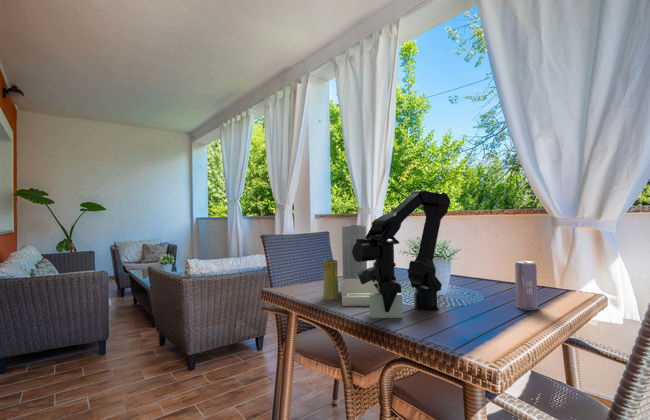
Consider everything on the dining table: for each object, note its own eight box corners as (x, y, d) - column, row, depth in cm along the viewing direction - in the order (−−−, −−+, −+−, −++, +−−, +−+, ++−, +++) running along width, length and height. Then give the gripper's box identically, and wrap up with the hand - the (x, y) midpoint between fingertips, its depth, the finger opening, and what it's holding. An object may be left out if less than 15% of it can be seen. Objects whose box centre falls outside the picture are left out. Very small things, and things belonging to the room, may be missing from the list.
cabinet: (382, 296, 125) (382, 278, 125) (388, 305, 112) (388, 285, 112) (341, 296, 126) (341, 278, 126) (342, 305, 113) (342, 286, 113)
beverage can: (536, 306, 107) (534, 261, 108) (539, 311, 102) (537, 263, 102) (515, 304, 110) (513, 260, 110) (517, 309, 104) (515, 262, 105)
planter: (338, 292, 133) (337, 226, 133) (351, 287, 141) (349, 225, 142) (360, 295, 127) (358, 226, 128) (371, 290, 135) (370, 225, 136)
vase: (337, 300, 120) (337, 261, 120) (321, 300, 121) (320, 261, 121) (340, 296, 126) (339, 259, 126) (324, 296, 127) (324, 259, 127)
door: (400, 315, 101) (400, 292, 101) (402, 317, 99) (401, 294, 99) (369, 315, 101) (369, 293, 101) (370, 318, 99) (370, 295, 99)
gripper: (356, 255, 110) (357, 302, 109) (361, 264, 91) (362, 320, 91) (389, 255, 110) (390, 301, 109) (401, 263, 91) (402, 319, 91)
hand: (385, 309), depth 100 cm, fingers open, 4 cm apart
